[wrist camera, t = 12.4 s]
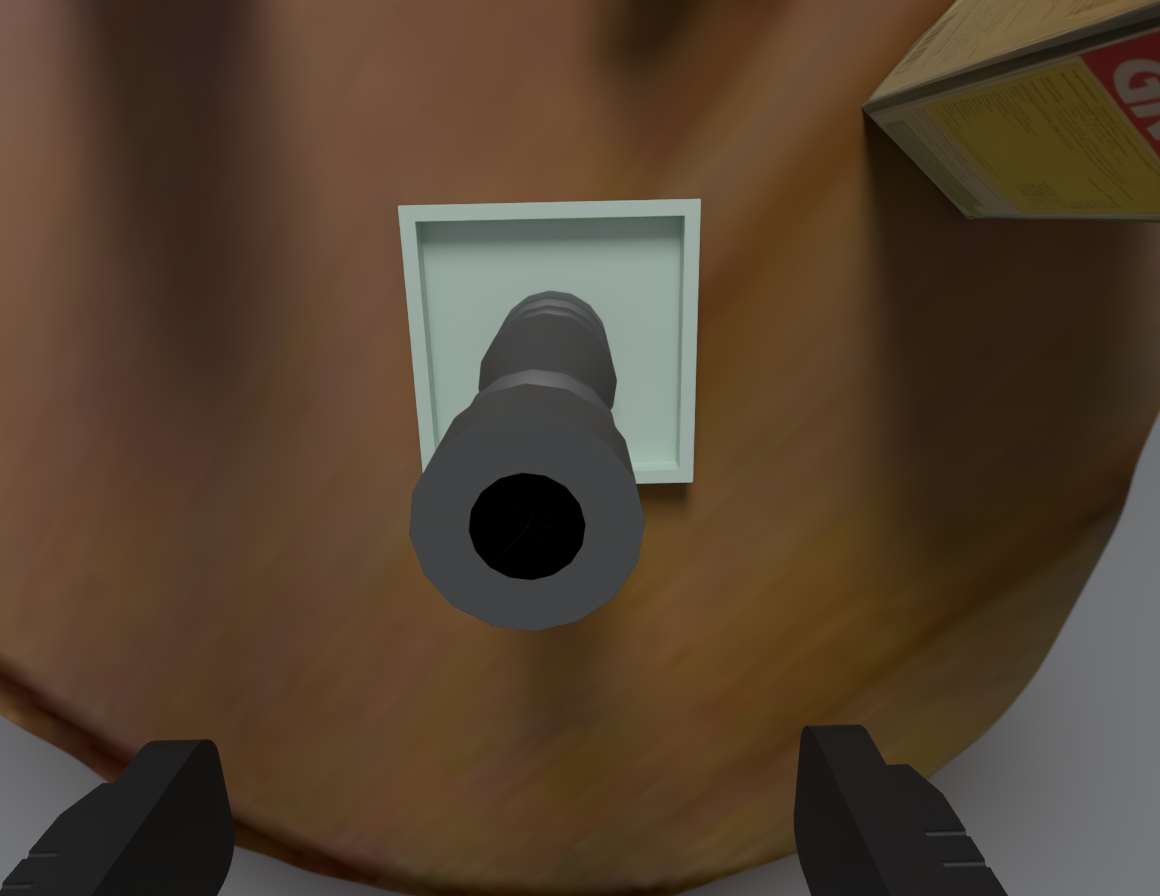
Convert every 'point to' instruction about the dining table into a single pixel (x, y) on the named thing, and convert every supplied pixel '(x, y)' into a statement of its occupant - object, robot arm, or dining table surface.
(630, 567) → the candle holder
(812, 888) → the robot arm
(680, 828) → the dining table surface
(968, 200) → the food packaging
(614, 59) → the dining table surface
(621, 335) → the tray
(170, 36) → the dining table surface
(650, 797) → the dining table surface
